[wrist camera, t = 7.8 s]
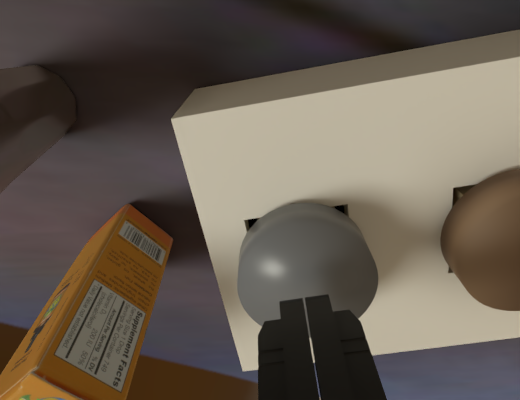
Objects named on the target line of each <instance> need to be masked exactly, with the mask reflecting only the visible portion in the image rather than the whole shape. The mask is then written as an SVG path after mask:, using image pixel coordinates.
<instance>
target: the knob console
mask: <svg viewBox="0 0 520 400" xmlns="http://www.w3.org/2000/svg"><path fill="white" fill-rule="evenodd" d="M171 121H172V125H173V128H174V132H175V135H176V139H177V142H178V146H179V149H180V153H181V156H182V160H183V163H184V167H185V170H186V174H187V177H188V181H189V184H190V188H191V191H192V195H193V198H194V202H195V205H196V209H197V212H198V216H199V219H200V223H201V226H202V230H203V233H204V237H205V240H206V244H207V247H208V251H209V254H210V258H211V261H212V265H213V268H214V272H215V275H216V279H217V282H218V286H219V289H220V293H221V296H222V300H223V303H224V307H225V310H226V314H227V317H228V321H229V324H230V328H231V331H232V335H233V338H234V342H235V345H236V349H237V352H238V356H239V359H240V363H241V366H242V370H243V371H250V370H258V334H259V332H260V330H261V328H262V326H260V325H259V324H258V323H256V322H255V321H254V320H253V319H252V318H251V317H250V316H249V315H248V314H247V312H246V311H245V310H244V308H243V306H242V304H241V302H240V299H239V296H238V290H237V279H238V266H239V254H240V248H241V245H242V241H243V239H244V237H245V235H246V233H247V232H248V231H249V229H250V228H249V223H248V219H254V218H261V217H263V216H264V215H266V214H267V213H269V212H271V211H273V210H275V209H277V208H280V207H283V206H286V205H290V204H296V203H316V204H322V205H326V206H329V207H332V206H339V205H344V214H345V215H347V216H348V217H349V218H351V219H352V220H353V221H354V223H355V224H356V225H357V226H358V228H359V229H360V231H361V233H362V235H363V237H364V239H365V241H366V243H367V245H368V248H369V250H370V252H371V254H372V256H373V259H374V261H375V263H376V267H377V270H378V287H377V292H376V294H375V297H374V299H373V301H372V303H371V305H370V306H369V308H368V309H367V310H366V312H365V313H364V314H363V315H362V316H361V317H360V318H358V319H359V320H360V321H361V324H362V327H363V330H364V333H365V336H366V340H367V342H368V345H369V348H370V352H371V354H372V355H379V354H387V353H396V352H404V351H412V350H420V349H428V348H436V347H444V346H452V345H460V344H469V343H477V342H485V341H493V340H501V339H509V338H517V337H520V311H504V310H498V309H494V308H491V307H488V306H485V305H483V304H482V303H480V302H478V301H477V300H476V299H474V298H473V297H472V296H471V295H470V294H469V293H468V291H467V290H466V289H465V287H464V286H463V284H462V283H461V282H460V280H459V279H458V278H457V276H456V275H455V274H454V272H453V271H452V269H451V268H450V267H449V265H448V264H447V262H446V261H445V259H444V257H443V254H442V251H441V245H440V238H441V231H442V227H443V224H444V222H445V219H446V217H447V215H448V214H449V212H450V210H451V209H452V201H453V188H455V187H462V186H468V185H475V184H478V183H480V182H482V181H484V180H486V179H487V178H490V177H492V176H494V175H496V174H499V173H502V172H506V171H510V170H515V169H520V30H514V31H509V32H503V33H498V34H493V35H487V36H482V37H476V38H471V39H465V40H460V41H454V42H449V43H443V44H438V45H433V46H427V47H422V48H416V49H411V50H405V51H400V52H394V53H389V54H383V55H378V56H373V57H367V58H362V59H356V60H351V61H345V62H340V63H334V64H329V65H323V66H318V67H313V68H307V69H302V70H296V71H291V72H285V73H280V74H274V75H269V76H263V77H258V78H253V79H247V80H242V81H236V82H231V83H225V84H220V85H214V86H209V87H203V88H198V89H194V90H193V92H192V93H191V94H190V95H189V97H188V98H187V99H186V100H185V102H184V103H183V104H182V106H181V107H180V108H179V109H178V111H177V112H176V113H175V114H174V116H173V117H172V118H171ZM309 340H310V346H311V352H312V358H313V363H314V362H315V360H314V354H313V348H312V341H311V338H309Z"/></svg>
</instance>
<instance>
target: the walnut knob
mask: <svg viewBox="0 0 520 400" xmlns="http://www.w3.org/2000/svg"><path fill="white" fill-rule="evenodd" d="M440 245H441V251H442V254H443V257H444V259H445V261H446V262H447V264H448V265H449V267H450V268H451V269H452V271H453V272H454V274H455V275H456V276H457V278H458V279H459V280H460V282H461V283H462V284H463V286H464V287H465V289H466V290H467V291H468V293H469V294H470V295H471V296H472V297H473V298H474V299H476V300H477V301H478V302H480V303H482V304H483V305H485V306H488V307H491V308H494V309H498V310H504V311H520V169H515V170H510V171H506V172H502V173H499V174H496V175H494V176H492V177H490V178H487V179H486V180H484V181H482V182H480V183H478V184H475V185H468V186H462V187H455V188H453V201H452V209H451V210H450V212H449V214H448V215H447V217H446V219H445V222H444V224H443V227H442V231H441V238H440Z"/></svg>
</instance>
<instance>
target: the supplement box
mask: <svg viewBox="0 0 520 400" xmlns="http://www.w3.org/2000/svg"><path fill="white" fill-rule="evenodd" d="M172 243H173V238H172V237H171V236H170V235H168V234H167V233H166V232H165V231H163V230H162V229H161V228H160V227H158V226H157V225H156V224H155V223H153V222H152V221H151V220H149V219H148V218H147V217H146V216H144V215H143V214H142V213H140V212H139V211H138V210H137V209H135V208H134V207H133V206H132V205H130V204H126V205H125V206H123V207H122V208H121V209H120V210H119V211H118V212H117V213H116V214H115V215H114V216H113V217H112V218H110V219H109V220H108V221H107V222H106V223H105V224H104V225H103V226H102V227H101V228H100V229H99V230H98V231H97V232H96V233H95V234H94V235H93V236H92V237H91V238H90V240H89V241H88V242H87V244H86V245H85V247H84V248H83V249H82V251H81V252H80V254H79V255H78V257H77V258H76V260H75V261H74V263H73V264H72V266H71V267H70V269H69V270H68V272H67V273H66V275H65V276H64V278H63V279H62V281H61V282H60V284H59V285H58V287H57V288H56V290H55V291H54V293H53V294H52V296H51V297H50V299H49V300H48V302H47V304H46V305H45V307H44V308H43V310H42V311H41V313H40V314H39V316H38V318H37V319H36V321H35V322H34V324H33V325H32V327H31V328H30V330H29V331H28V333H27V335H26V336H25V338H24V339H23V341H22V343H21V344H20V346H19V347H18V349H17V350H16V352H15V353H14V355H13V357H12V358H11V360H10V361H9V363H8V364H7V366H6V367H5V369H4V370H3V372H2V374H1V375H0V400H126V397H127V394H128V391H129V387H130V384H131V380H132V376H133V373H134V370H135V366H136V363H137V360H138V356H139V353H140V350H141V346H142V343H143V340H144V337H145V334H146V330H147V327H148V323H149V320H150V316H151V313H152V310H153V306H154V303H155V300H156V296H157V293H158V290H159V286H160V283H161V280H162V276H163V273H164V269H165V266H166V263H167V259H168V256H169V253H170V249H171V246H172Z"/></svg>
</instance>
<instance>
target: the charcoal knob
mask: <svg viewBox="0 0 520 400" xmlns="http://www.w3.org/2000/svg"><path fill="white" fill-rule="evenodd" d="M377 287H378V270H377V267H376V263H375V261H374V259H373V256H372V254H371V252H370V250H369V248H368V245H367V243H366V241H365V239H364V237H363V235H362V233H361V231H360V229H359V228H358V226H357V225H356V224H355V223H354V221H353V220H352V219H351V218H349V217H348V216H347V215H345V214H344V213H342V212H341V211H339V210H337V209H335V207H334V206H332V207H329V206H326V205H322V204H316V203H296V204H290V205H286V206H283V207H280V208H277V209H275V210H273V211H271V212H269V213H267V214H266V215H264V216H263V217H261V218H257V221H256V222H255V223H254V225H253V226H252V227H251V228H250V229H249V231H248V232H247V233H246V235H245V237H244V239H243V241H242V245H241V248H240V254H239V266H238V279H237V290H238V296H239V299H240V302H241V304H242V306H243V308H244V310H245V311H246V312H247V314H248V315H249V316H250V317H251V318H252V319H253V320H254V321H255V322H256V323H258V324H259V325H260V326H263V324H264V321H270V320H277V319H281V317H280V305H279V301H284V300H291V299H298V298H303V303H304V309H305V315H306V321H307V328H308V334H309V338H311V335H310V329H309V322H308V316H307V309H306V303H305V297H312V296H319V295H326V294H328V295H329V298H330V302H331V306H332V310H333V312H334V311H341V310H350V311H351V312H352V313H353V314H354V315H355V316H356V317H357V318H360V317H361V316H362V315H363V314H364V313H365V312H366V310H367V309H368V308H369V306H370V305H371V303H372V301H373V299H374V297H375V294H376V292H377Z"/></svg>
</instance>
